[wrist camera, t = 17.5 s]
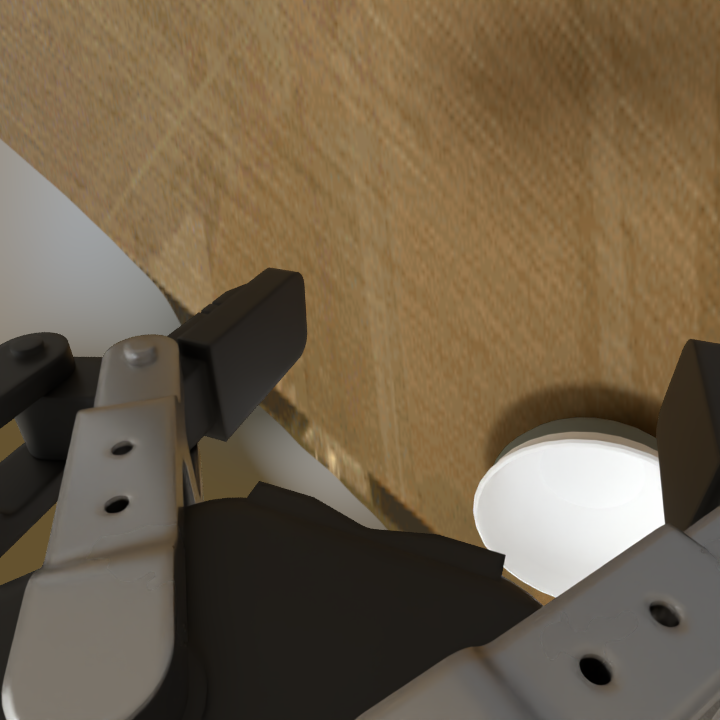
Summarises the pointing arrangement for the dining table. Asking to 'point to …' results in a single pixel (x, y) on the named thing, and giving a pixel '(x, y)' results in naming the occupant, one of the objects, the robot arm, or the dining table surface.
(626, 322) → the dining table surface
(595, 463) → the bowl
